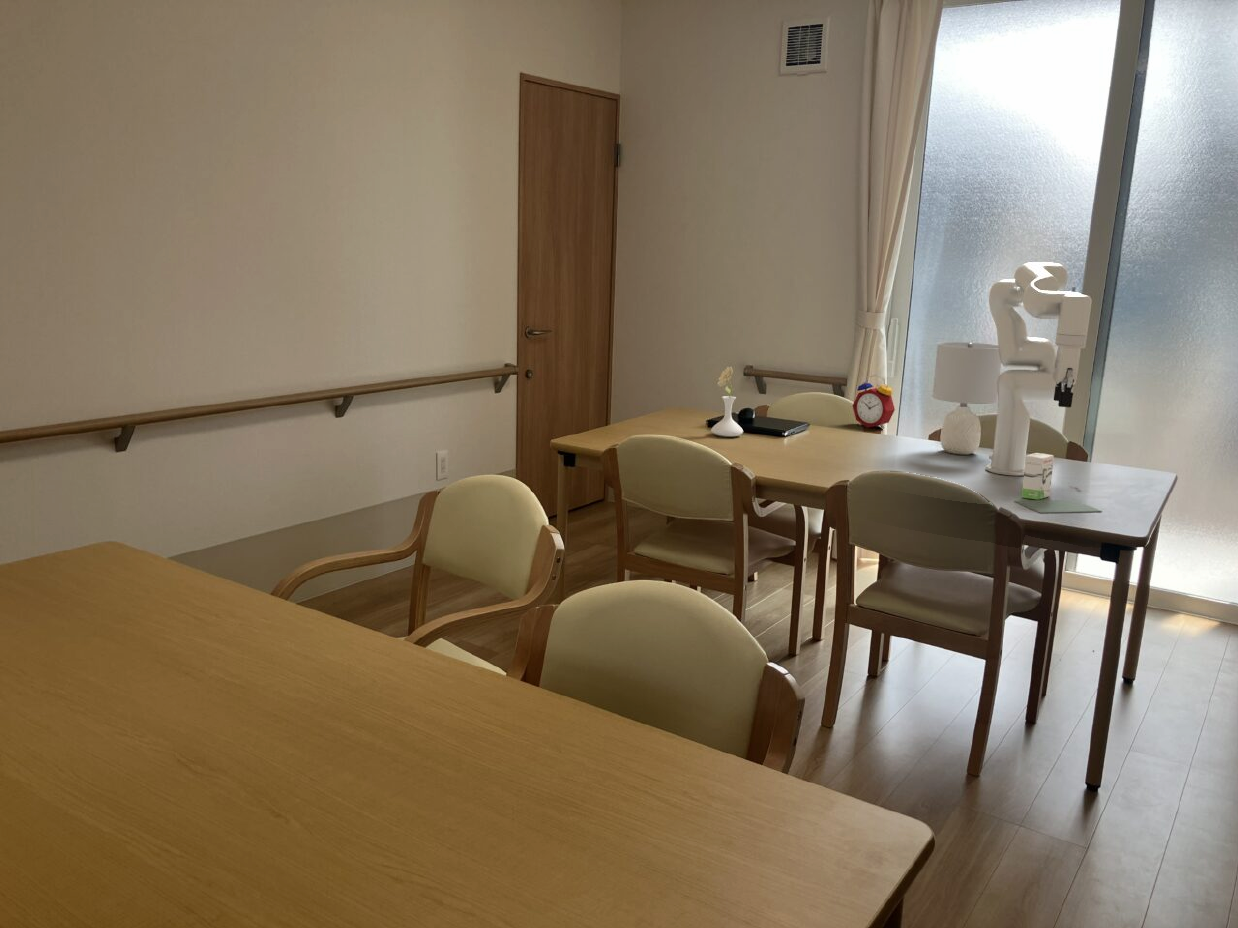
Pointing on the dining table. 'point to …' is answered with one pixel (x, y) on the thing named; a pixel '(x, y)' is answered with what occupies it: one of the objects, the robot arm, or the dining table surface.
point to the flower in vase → (727, 410)
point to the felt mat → (1057, 506)
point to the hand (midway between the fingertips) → (1062, 403)
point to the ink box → (1037, 476)
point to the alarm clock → (873, 405)
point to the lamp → (965, 390)
